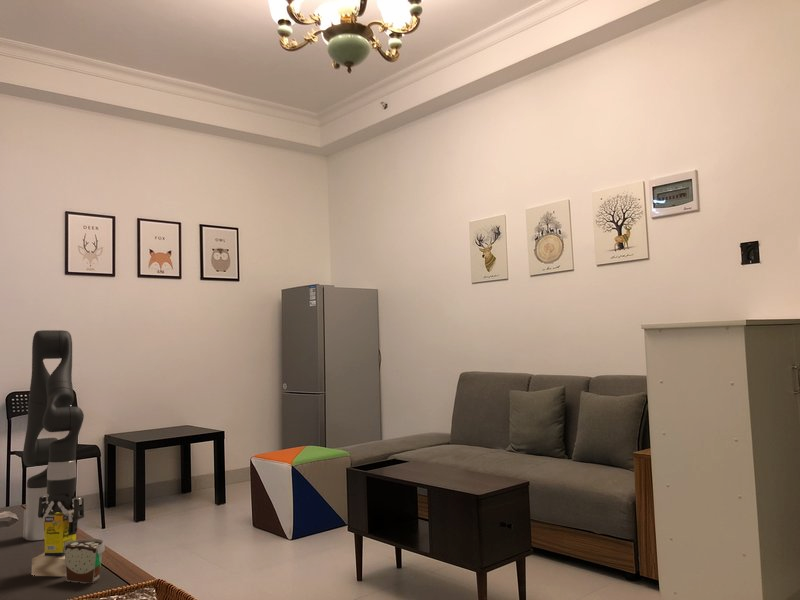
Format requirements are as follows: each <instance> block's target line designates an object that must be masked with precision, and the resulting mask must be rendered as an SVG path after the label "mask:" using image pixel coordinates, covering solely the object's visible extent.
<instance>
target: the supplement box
mask: <svg viewBox="0 0 800 600" xmlns="http://www.w3.org/2000/svg"><path fill="white" fill-rule="evenodd" d="M72 517H73V516H72ZM44 520H45V539H44V553H45V556H53V555H64V554H65V550H64V551H63V546H64V543H66V542H70V541H74V540H77V533H76V534H74V535H69V534H68V530H69V520H68V518H67V516H65V515H64V514H63V513H59V512H57V513H55V514H52V515H49V516H45V517H44Z"/></svg>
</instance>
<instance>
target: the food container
mask: <svg viewBox="0 0 800 600" xmlns="http://www.w3.org/2000/svg"><path fill="white" fill-rule="evenodd" d="M64 550H65V569H66V576H65V581H66V582H70V581H71V582H72V583H78V582H80V584H86V583H95V582H97V581H98V580H99V581H100V576H101V575H100V574H101V567H102V566H101V565H102V557H103V552H105V550H106V546H105V543H104V541H103V540H102V539H99V538H81V539H76V540H74V541H70V542H66V543H64V546H63V551H64ZM99 581H98V582H99ZM71 582H70V583H71ZM98 582H97V583H98ZM95 584H96V583H95Z"/></svg>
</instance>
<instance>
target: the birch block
mask: <svg viewBox="0 0 800 600" xmlns="http://www.w3.org/2000/svg"><path fill="white" fill-rule="evenodd" d="M31 575H33V576H32V577H66V569H65V554H64V555H53V556H45V552H43V553H41V554H39V555H37V556H35V557H32V558H31ZM34 575H35V576H34Z"/></svg>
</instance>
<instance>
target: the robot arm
mask: <svg viewBox="0 0 800 600" xmlns="http://www.w3.org/2000/svg"><path fill="white" fill-rule="evenodd" d="M31 344H32V345H31V346H32V348H31V378H30V385H29V386H30V387H29V394H28V402H27V403H28V405H27V424H26V425H27V426H26V430H25V431H26V432H25V437H24V444H23V450H22V461H23V464H24V466H26V467H29V468H30V467H32V468H33V467H42V466H46V468H45V469H44V470H43V471H41V472H39V473H38V474H35V475H33V476H30V477H29V478H28V479H27V481H26V506H25V507H26V508H25V509H23V526H22V527H23V528H22V530H23V532H22V539H25V540H26V541H42V540H45V520H44V517H45V516H49V515H52V514H55V513H57V512H59V513H63V514H64V515H65V516H67V518H68V520H69V530H68V534H69V535H74V534H76V535H77V532H78V522H79V520H80V519H84V517H85V505H84V503H85V502H84V501H85V500H84V497H83V496H80V497H75V493H76V491H77V462H76V458H77V444H78V443H77V442H78V438H79V434H80V430H81V428H82V425H83V423H84V418H85V416H84V412H83V410H82V408H80V407H79V406H71V405H73V404H74V400H75V394H74V389H73V382H72V381H73V380H72V379H73V378H72V374H73V371H72V370H73V338H72V335H71V333H70V332H69V331H68V330H64V329H62V330H58V329H53V330H52V329H50V330H49V329H47V330H45V329H44V330H43V329H41V330H37V331H35V332H34V334H33V337H32V343H31ZM49 359H50V360H52V359H53V360H55V359H58V360H59V359H60V362H59V363H58V365H57V366H56V367H55V369H54V370H53V371H52V372H51V374H50V373H49V371H48V369H47V368H46V365H45V363H44V360H49ZM43 429H44V430H45V431H46V432H48V433H60V432H62V433H63V432H68V433H67V435H66V436H64V437H63V438H60V439H58V438H57V437H45V438H42V437H41V438H39V436H40V433H42V430H43ZM72 516H73V517H72Z"/></svg>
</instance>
